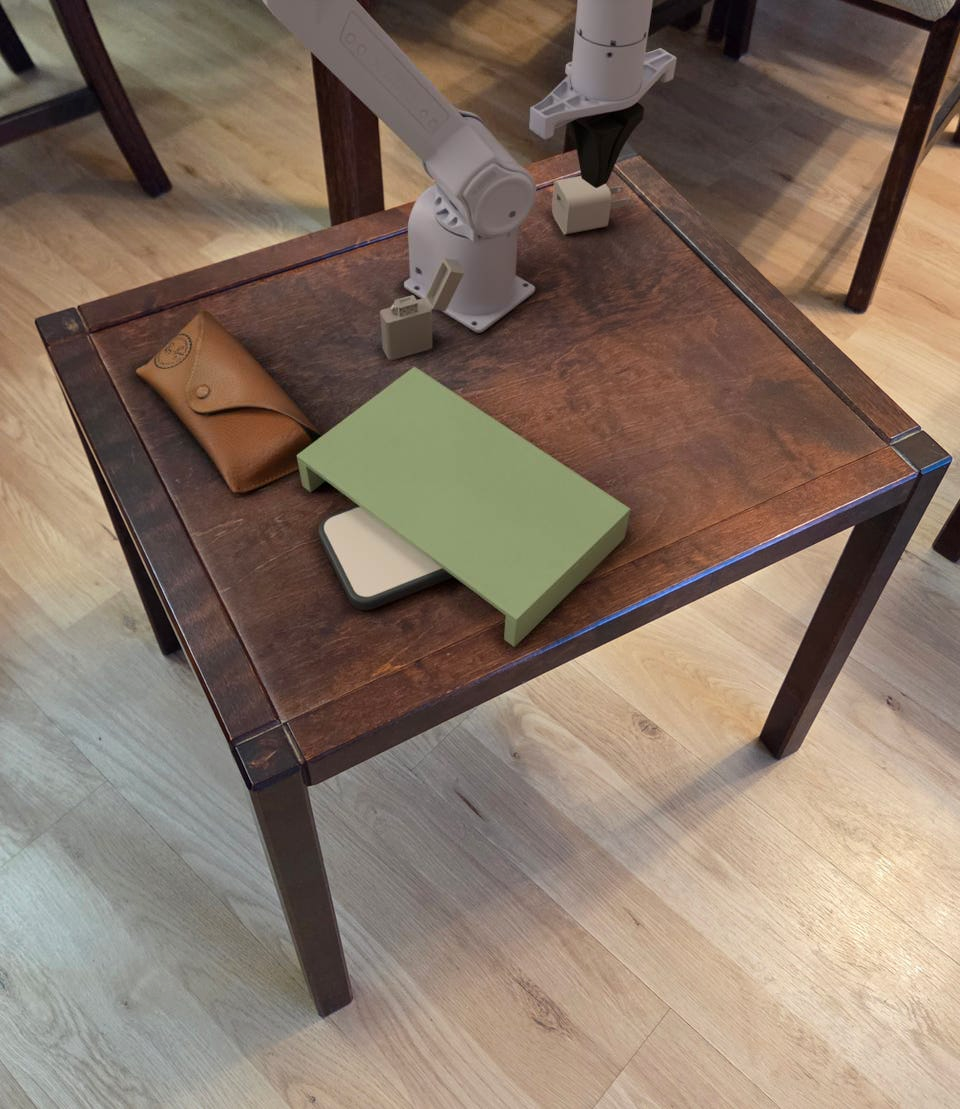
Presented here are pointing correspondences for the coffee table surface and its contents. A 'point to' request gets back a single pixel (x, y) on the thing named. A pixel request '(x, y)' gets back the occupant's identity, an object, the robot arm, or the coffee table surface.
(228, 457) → the sunglasses case
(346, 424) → the riser stand
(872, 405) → the coffee table surface
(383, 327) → the lighter
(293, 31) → the robot arm
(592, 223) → the usb wall charger
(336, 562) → the phone case
